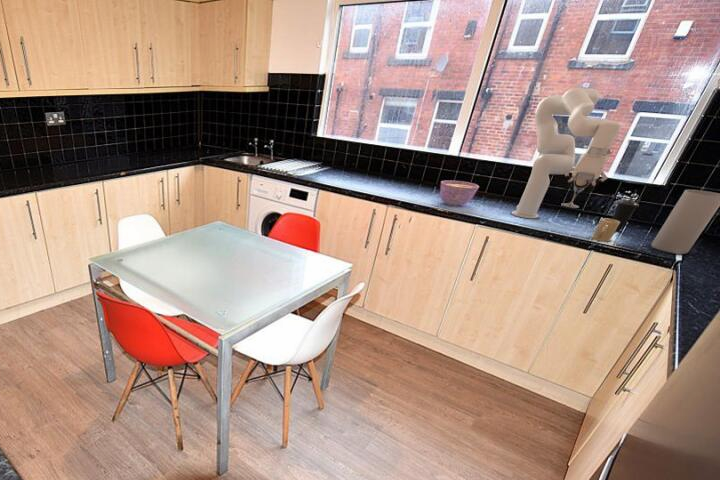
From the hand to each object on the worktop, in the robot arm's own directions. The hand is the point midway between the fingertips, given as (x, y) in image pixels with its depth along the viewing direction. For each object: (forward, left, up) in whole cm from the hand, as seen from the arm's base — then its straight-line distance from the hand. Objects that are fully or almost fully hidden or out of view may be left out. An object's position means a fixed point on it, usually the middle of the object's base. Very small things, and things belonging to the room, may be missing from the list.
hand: (576, 192), depth 198 cm
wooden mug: (+8, +15, -19) cm, 26 cm away
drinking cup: (-12, +32, -19) cm, 39 cm away
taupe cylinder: (+15, +39, -19) cm, 46 cm away
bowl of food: (-44, -36, -19) cm, 60 cm away
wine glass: (0, 0, -7) cm, 7 cm away
